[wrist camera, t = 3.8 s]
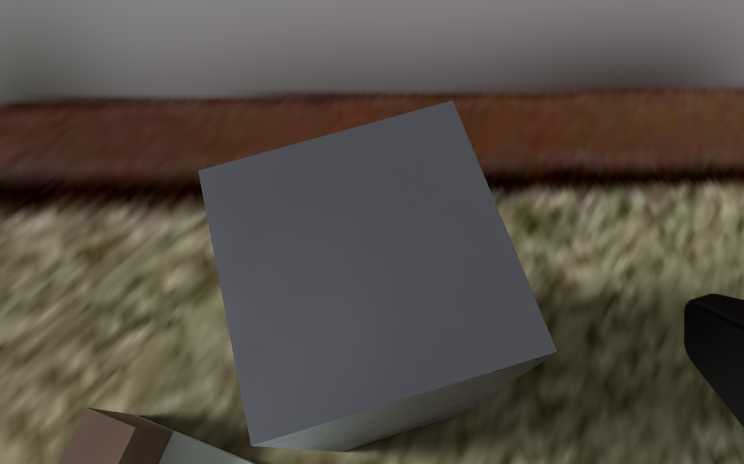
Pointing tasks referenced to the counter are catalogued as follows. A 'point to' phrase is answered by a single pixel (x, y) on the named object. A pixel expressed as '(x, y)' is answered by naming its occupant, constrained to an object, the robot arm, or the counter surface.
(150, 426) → the corner walls
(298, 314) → the bracket
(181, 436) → the mat
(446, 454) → the counter surface
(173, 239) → the counter surface
